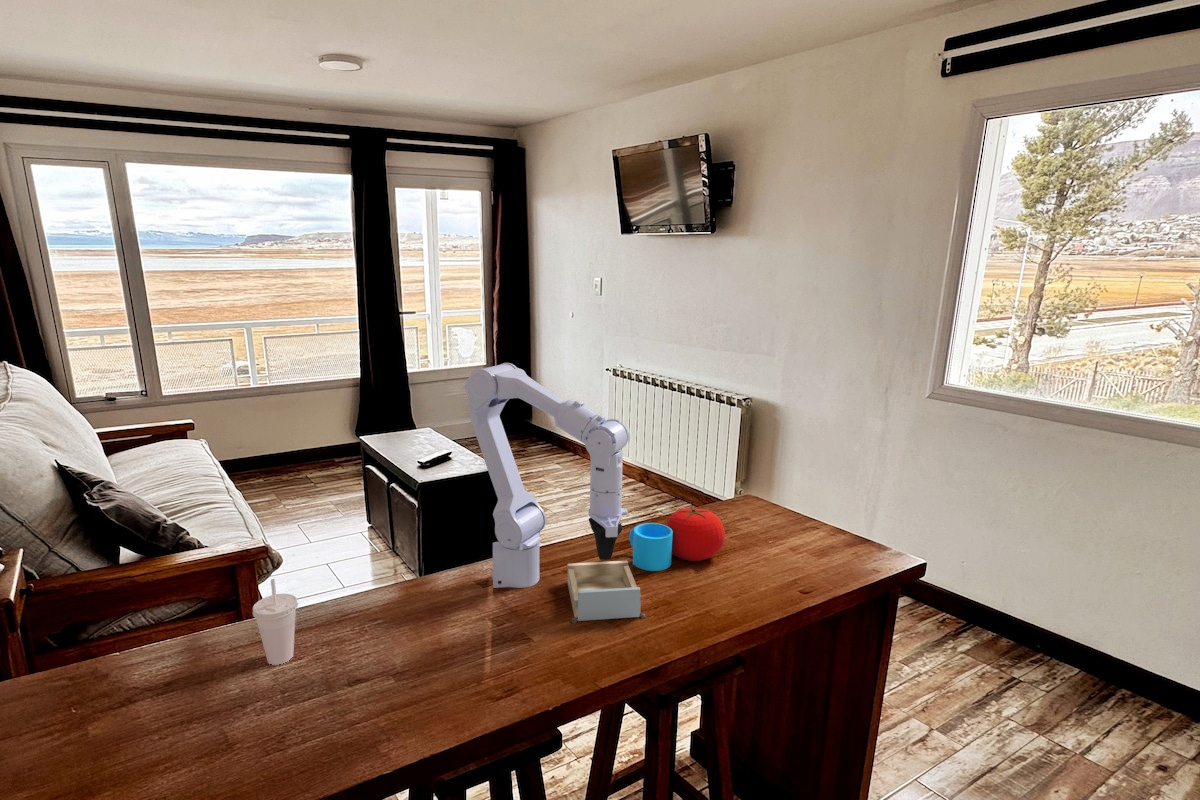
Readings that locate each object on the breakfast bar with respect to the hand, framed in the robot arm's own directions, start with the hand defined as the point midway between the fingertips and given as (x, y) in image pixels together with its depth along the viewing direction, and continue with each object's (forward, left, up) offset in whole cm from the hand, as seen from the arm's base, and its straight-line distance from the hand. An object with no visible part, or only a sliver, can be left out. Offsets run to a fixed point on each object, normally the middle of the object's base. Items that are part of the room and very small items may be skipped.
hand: (604, 557), depth 117 cm
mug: (+12, +17, -10) cm, 23 cm away
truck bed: (0, +2, -10) cm, 10 cm away
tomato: (+23, +19, -10) cm, 31 cm away
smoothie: (-54, -9, -10) cm, 56 cm away
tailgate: (0, -6, -9) cm, 11 cm away
